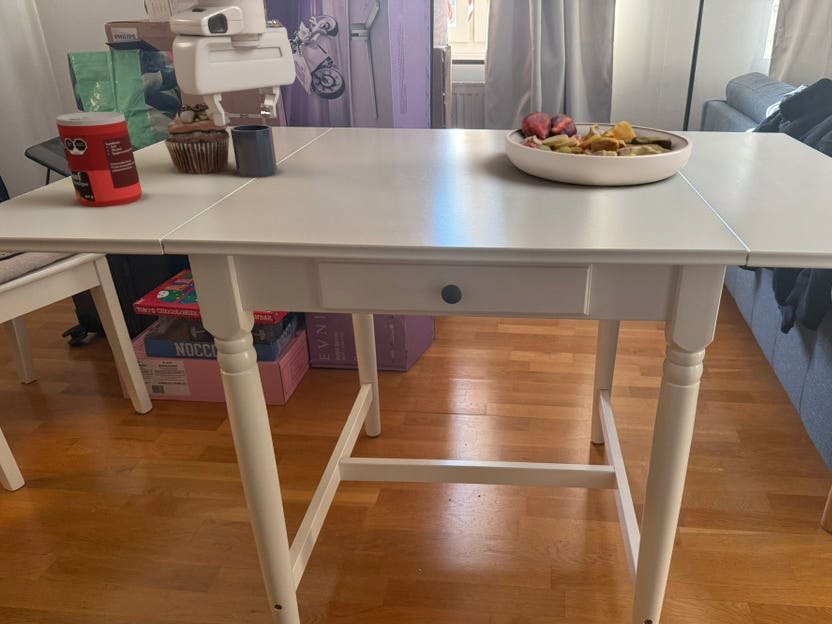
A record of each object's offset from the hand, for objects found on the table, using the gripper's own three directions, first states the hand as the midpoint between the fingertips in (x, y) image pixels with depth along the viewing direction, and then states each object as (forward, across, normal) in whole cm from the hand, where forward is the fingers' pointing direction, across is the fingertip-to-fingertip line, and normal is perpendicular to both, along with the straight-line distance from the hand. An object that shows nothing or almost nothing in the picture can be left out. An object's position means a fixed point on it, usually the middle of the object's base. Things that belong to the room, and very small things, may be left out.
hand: (246, 121), depth 102 cm
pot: (+8, 0, 0) cm, 8 cm away
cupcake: (+8, +2, -10) cm, 13 cm away
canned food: (+8, +21, -5) cm, 23 cm away
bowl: (+7, -32, +45) cm, 56 cm away
